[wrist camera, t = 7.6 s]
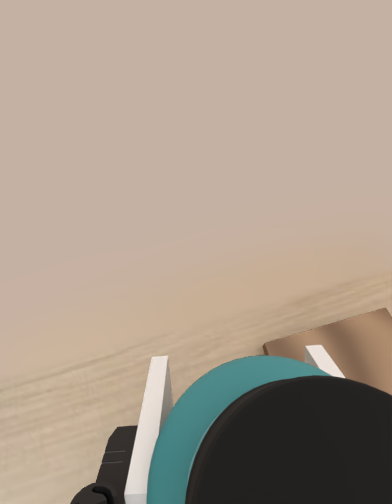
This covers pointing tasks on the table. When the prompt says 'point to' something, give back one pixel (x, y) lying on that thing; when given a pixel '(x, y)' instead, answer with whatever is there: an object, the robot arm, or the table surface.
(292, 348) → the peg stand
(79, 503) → the robot arm
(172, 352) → the table surface
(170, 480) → the beverage bottle
